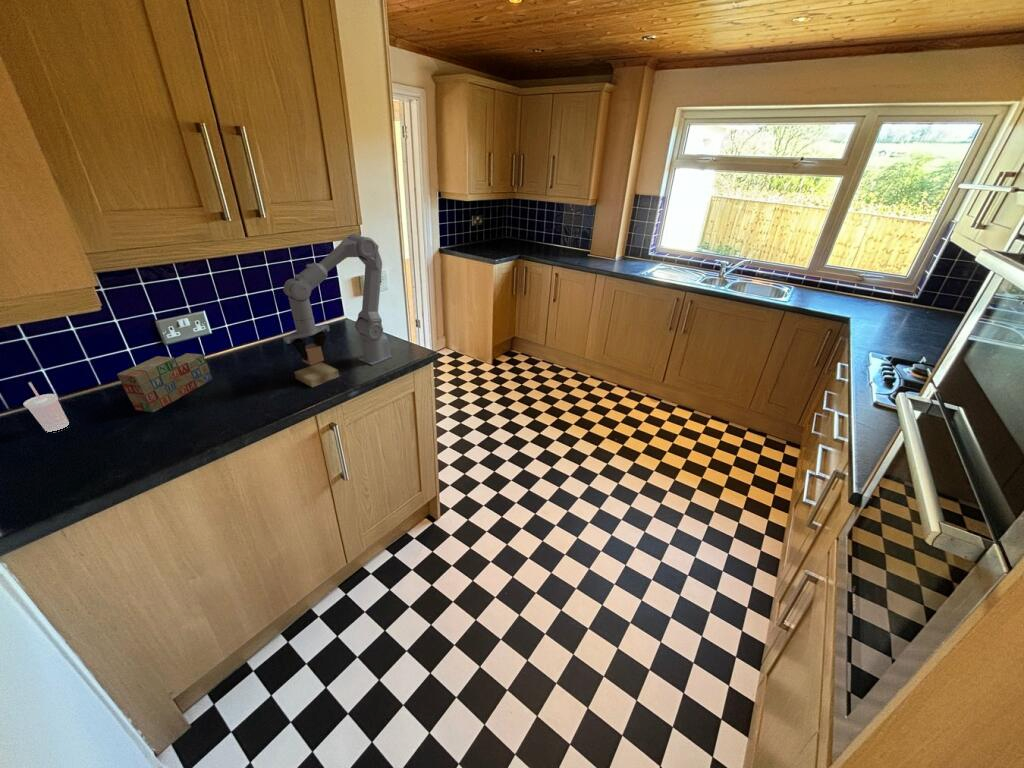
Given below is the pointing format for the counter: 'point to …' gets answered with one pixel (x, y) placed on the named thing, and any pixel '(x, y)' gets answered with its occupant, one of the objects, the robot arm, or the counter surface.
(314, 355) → the brown cube
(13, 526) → the counter surface
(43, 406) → the beverage cup
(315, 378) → the oak block
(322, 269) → the robot arm
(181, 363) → the stack of blocks
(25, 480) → the counter surface
